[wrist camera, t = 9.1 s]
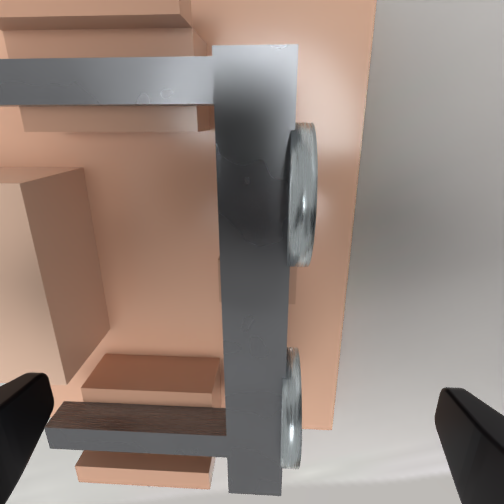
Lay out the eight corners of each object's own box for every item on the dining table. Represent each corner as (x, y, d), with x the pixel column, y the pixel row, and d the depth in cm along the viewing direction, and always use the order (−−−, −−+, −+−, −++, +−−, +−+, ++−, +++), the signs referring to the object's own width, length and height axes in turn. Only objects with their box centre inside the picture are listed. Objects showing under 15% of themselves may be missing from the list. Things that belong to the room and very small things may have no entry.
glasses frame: (308, 62, 11) (327, 31, 7) (290, 431, 16) (296, 531, 12) (-18, 66, 11) (-170, 40, 8) (68, 420, 17) (6, 513, 13)
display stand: (366, 4, 14) (423, -65, 8) (328, 408, 21) (345, 505, 16) (-31, 12, 14) (-198, -46, 9) (63, 397, 22) (-3, 484, 16)
